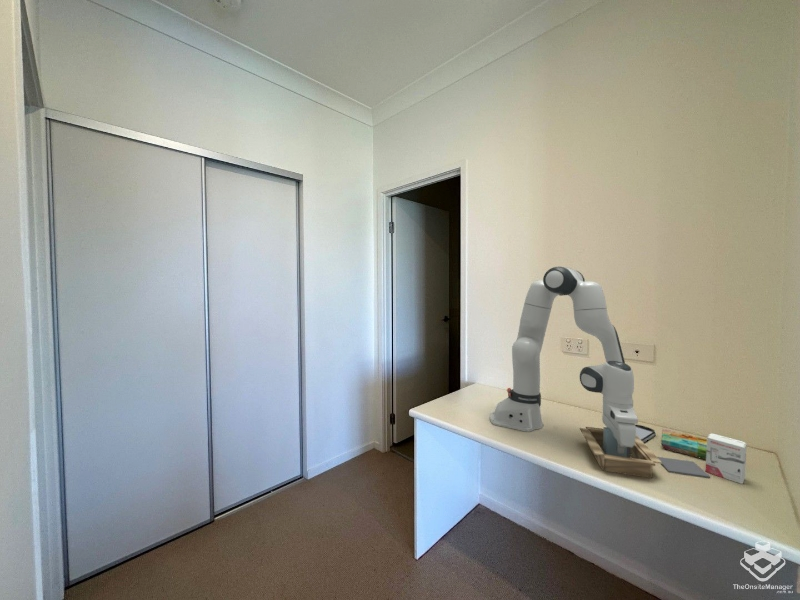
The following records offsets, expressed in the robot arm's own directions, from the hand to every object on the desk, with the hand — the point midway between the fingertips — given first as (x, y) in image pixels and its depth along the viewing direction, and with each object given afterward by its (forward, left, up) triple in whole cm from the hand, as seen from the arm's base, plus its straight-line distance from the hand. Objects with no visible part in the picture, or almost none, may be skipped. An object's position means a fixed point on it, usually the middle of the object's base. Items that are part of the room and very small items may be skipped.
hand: (616, 447), depth 112 cm
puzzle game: (+30, +14, -5) cm, 34 cm away
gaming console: (+14, +22, -5) cm, 27 cm away
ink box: (+30, -1, -4) cm, 30 cm away
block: (0, 0, -4) cm, 4 cm away
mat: (+19, 0, -4) cm, 19 cm away
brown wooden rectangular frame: (0, 0, -4) cm, 4 cm away
